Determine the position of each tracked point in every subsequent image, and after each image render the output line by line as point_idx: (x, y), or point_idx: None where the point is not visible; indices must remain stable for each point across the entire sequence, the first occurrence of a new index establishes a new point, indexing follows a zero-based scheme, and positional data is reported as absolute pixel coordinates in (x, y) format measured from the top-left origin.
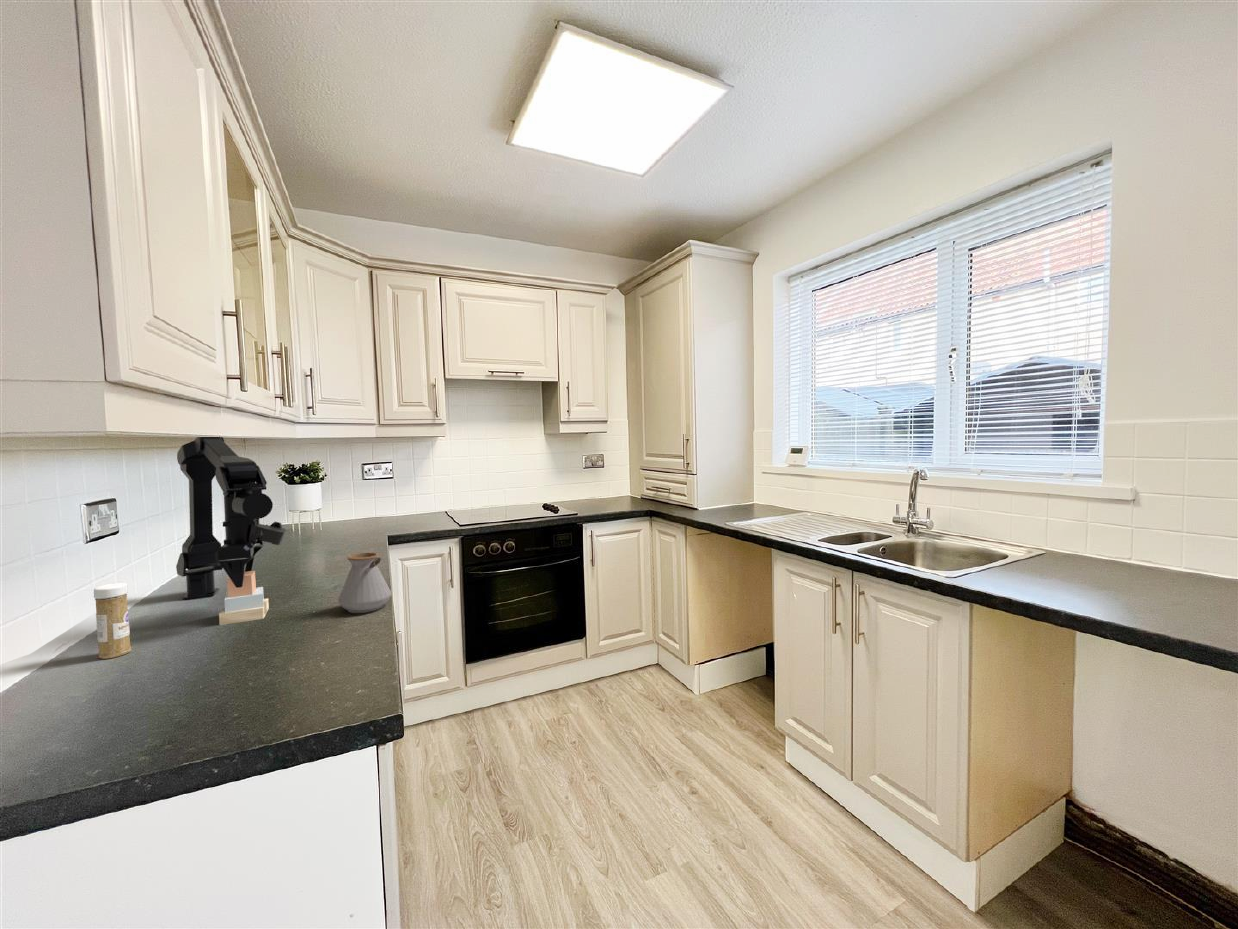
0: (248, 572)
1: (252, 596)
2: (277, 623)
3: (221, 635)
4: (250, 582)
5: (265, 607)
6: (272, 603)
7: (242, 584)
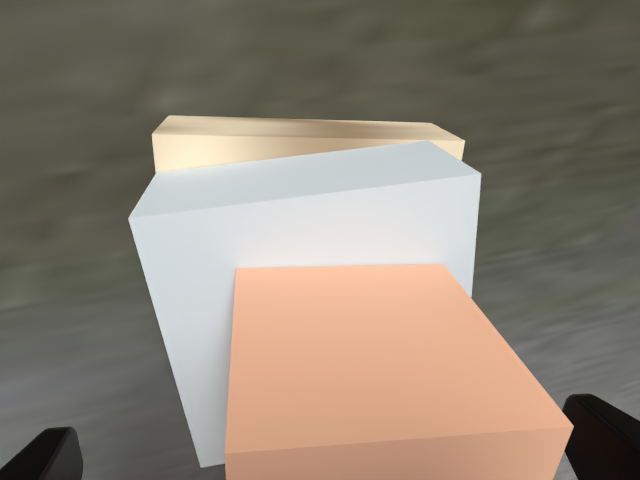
0: None
1: (466, 253)
2: (610, 16)
3: (592, 284)
4: (504, 356)
5: (332, 130)
6: (3, 103)
7: (613, 409)
